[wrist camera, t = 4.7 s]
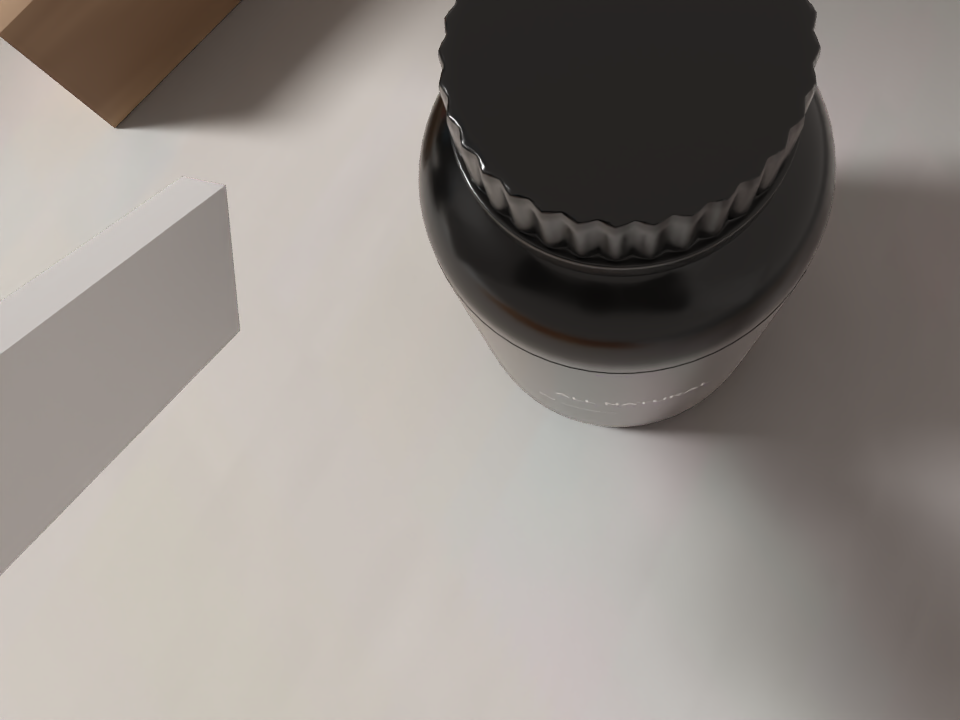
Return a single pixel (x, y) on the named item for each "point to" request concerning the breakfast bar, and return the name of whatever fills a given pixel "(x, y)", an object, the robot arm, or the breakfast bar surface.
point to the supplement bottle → (626, 190)
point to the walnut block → (109, 44)
